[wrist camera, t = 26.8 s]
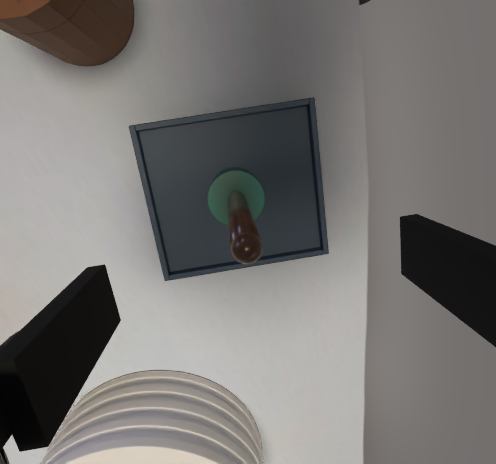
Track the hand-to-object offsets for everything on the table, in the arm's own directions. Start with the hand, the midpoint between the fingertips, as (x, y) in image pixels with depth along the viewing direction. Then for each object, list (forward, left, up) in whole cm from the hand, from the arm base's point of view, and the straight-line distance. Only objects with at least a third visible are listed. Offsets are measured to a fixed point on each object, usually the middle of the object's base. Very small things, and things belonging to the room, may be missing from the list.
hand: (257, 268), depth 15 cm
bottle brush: (0, 0, -24) cm, 24 cm away
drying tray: (0, 0, -25) cm, 25 cm away
